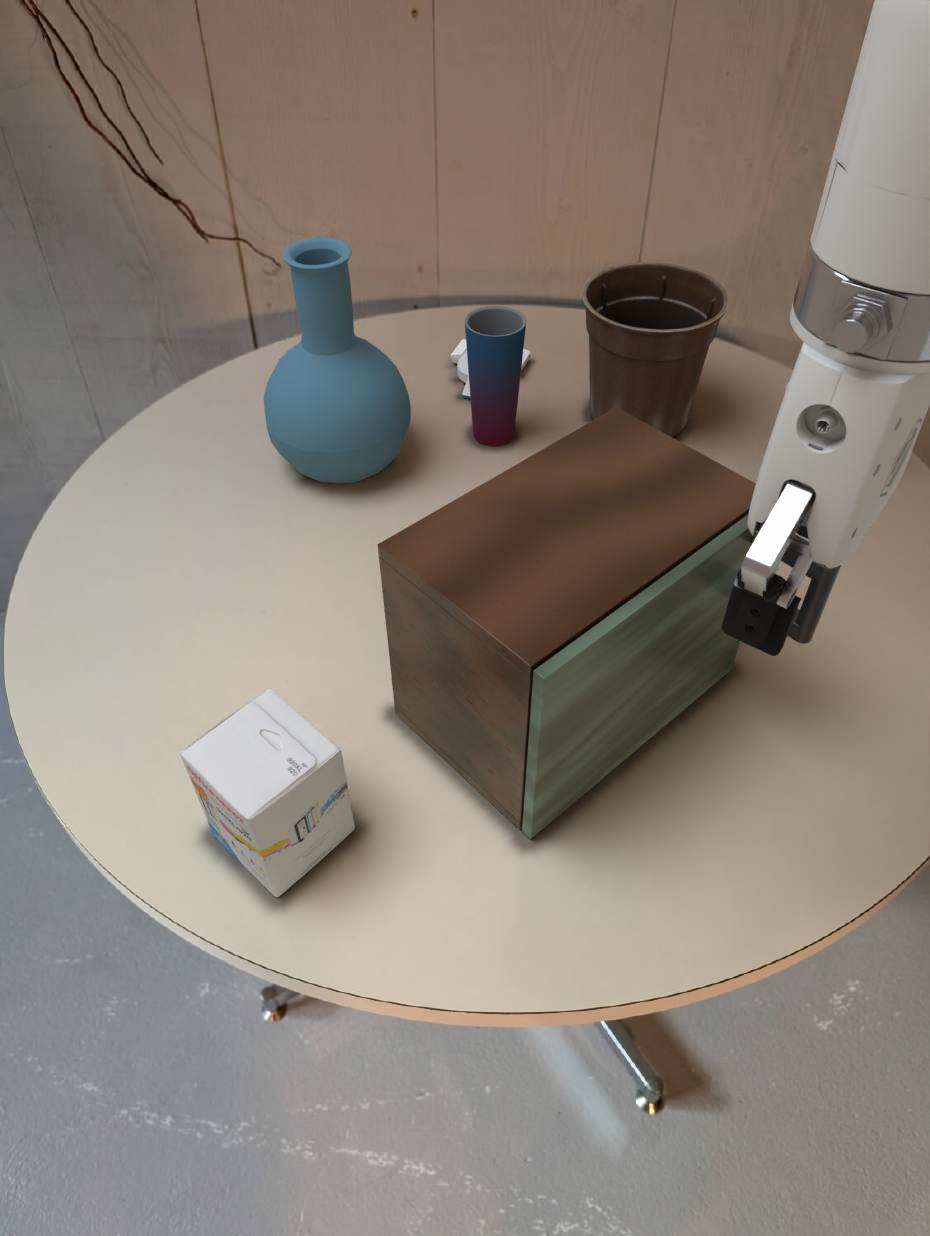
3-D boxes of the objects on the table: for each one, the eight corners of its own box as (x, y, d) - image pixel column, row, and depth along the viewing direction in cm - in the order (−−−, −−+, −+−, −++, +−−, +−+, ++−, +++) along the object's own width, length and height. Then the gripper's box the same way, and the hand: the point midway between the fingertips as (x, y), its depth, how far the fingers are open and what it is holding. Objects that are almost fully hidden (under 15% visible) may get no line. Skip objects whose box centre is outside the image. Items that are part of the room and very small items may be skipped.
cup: (461, 447, 109) (459, 333, 98) (470, 415, 114) (470, 303, 103) (517, 453, 108) (522, 338, 97) (524, 420, 113) (529, 307, 102)
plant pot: (553, 437, 110) (562, 313, 99) (592, 370, 120) (605, 251, 109) (685, 467, 106) (711, 342, 94) (715, 395, 116) (741, 274, 104)
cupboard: (720, 663, 85) (772, 491, 70) (519, 830, 73) (530, 666, 58) (594, 575, 94) (616, 406, 79) (394, 713, 81) (376, 544, 67)
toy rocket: (473, 333, 127) (473, 318, 126) (540, 345, 125) (540, 330, 123) (431, 392, 117) (430, 376, 116) (502, 407, 115) (502, 391, 113)
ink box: (209, 834, 73) (173, 750, 65) (290, 769, 77) (267, 682, 69) (276, 902, 69) (248, 822, 61) (358, 829, 73) (343, 745, 65)
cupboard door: (794, 712, 81) (864, 544, 66) (593, 899, 69) (625, 743, 54) (723, 663, 85) (774, 494, 70) (521, 831, 73) (533, 670, 58)
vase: (414, 416, 114) (402, 214, 95) (413, 500, 102) (399, 289, 84) (282, 419, 113) (244, 218, 95) (265, 504, 102) (220, 293, 84)
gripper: (914, 424, 31) (789, 722, 44) (1039, 244, 41) (907, 531, 53) (715, 356, 35) (651, 653, 47) (874, 204, 44) (786, 484, 56)
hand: (788, 588), depth 50 cm, fingers open, 9 cm apart
